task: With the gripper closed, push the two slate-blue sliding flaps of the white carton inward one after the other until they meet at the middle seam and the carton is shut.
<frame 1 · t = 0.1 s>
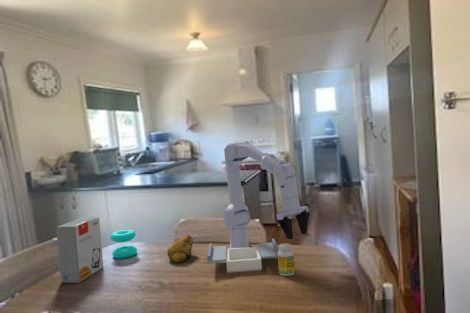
hand: (297, 236, 129), 11 cm above the table, tool pointing down, fingers open, 7 cm apart
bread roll: (179, 259, 147), on the table
supplement bottle: (286, 273, 124), on the table
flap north: (268, 247, 135), point 5 cm above the table, slide at 6.0 cm
hard drive box: (83, 275, 136), on the table
donuts: (125, 255, 155), on the table
carton: (243, 264, 135), on the table
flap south: (217, 251, 135), point 5 cm above the table, slide at 6.0 cm
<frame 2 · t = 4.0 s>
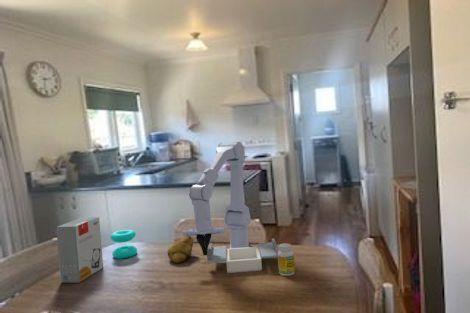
hand: (205, 254, 135), 5 cm above the table, tool pointing down, fingers closed
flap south: (217, 251, 135), point 5 cm above the table, slide at 6.0 cm, touching gripper
everything else where it was.
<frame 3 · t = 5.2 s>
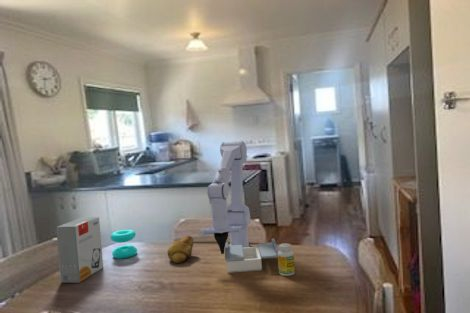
hand: (222, 253, 135), 5 cm above the table, tool pointing down, fingers closed
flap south: (233, 250, 135), point 5 cm above the table, slide at -0.1 cm, touching gripper
everything else where it was.
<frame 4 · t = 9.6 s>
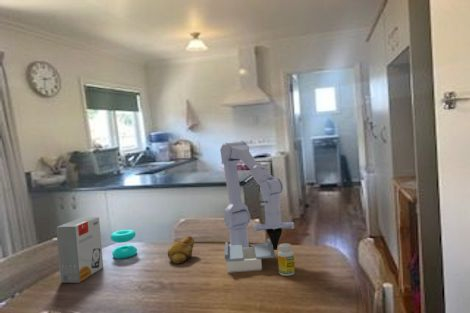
hand: (275, 249, 135), 5 cm above the table, tool pointing down, fingers closed
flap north: (263, 248, 135), point 5 cm above the table, slide at 4.2 cm, touching gripper
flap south: (233, 250, 135), point 5 cm above the table, slide at 0.0 cm
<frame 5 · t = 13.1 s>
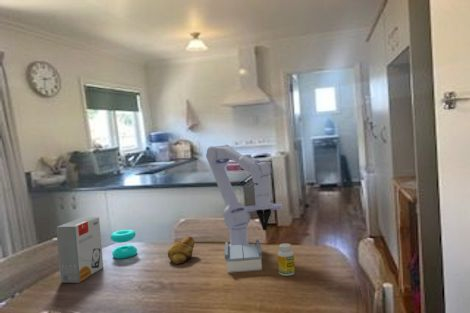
hand: (264, 229, 141), 10 cm above the table, tool pointing down, fingers closed
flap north: (251, 249, 135), point 5 cm above the table, slide at 0.0 cm
at the end: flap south slide at 0.0 cm; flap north slide at 0.0 cm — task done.
